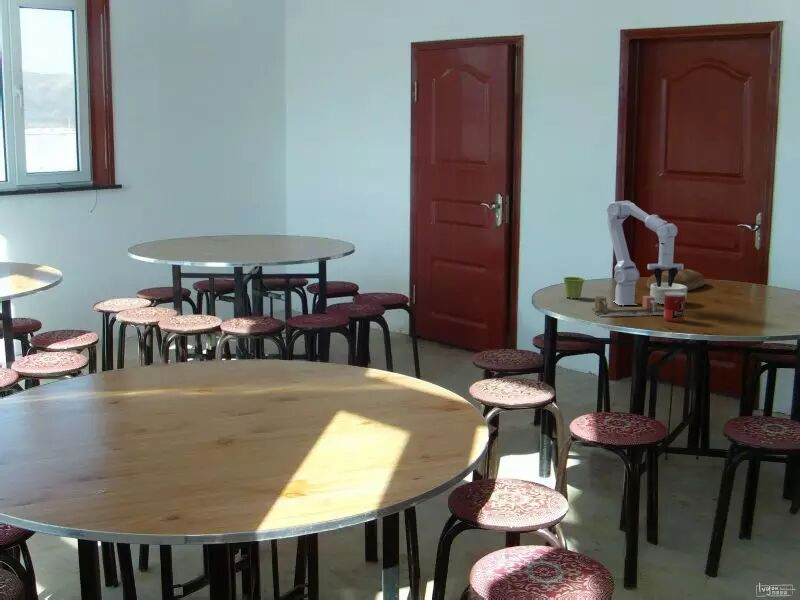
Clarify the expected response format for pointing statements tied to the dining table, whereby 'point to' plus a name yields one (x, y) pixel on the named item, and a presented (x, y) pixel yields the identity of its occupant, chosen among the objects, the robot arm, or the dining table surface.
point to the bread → (681, 279)
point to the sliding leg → (649, 302)
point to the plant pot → (573, 286)
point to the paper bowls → (660, 291)
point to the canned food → (674, 306)
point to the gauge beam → (602, 307)
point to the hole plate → (632, 313)
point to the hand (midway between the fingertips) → (664, 286)
